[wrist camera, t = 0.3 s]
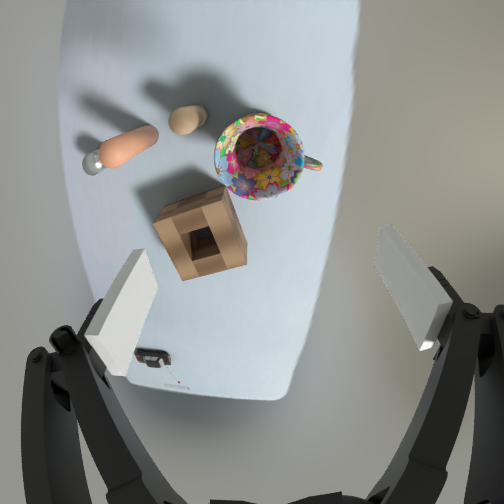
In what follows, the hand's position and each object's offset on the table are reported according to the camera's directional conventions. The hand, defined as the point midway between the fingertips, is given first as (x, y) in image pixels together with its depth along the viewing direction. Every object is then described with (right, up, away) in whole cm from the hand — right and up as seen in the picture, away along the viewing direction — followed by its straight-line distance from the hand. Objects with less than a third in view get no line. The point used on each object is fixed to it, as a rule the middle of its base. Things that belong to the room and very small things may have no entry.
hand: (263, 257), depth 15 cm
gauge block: (-8, +4, +28) cm, 29 cm away
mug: (+1, +15, +22) cm, 27 cm away
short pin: (-22, +15, +22) cm, 35 cm away
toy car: (-22, -23, +45) cm, 55 cm away
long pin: (-15, +17, +21) cm, 31 cm away
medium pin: (-8, +19, +19) cm, 28 cm away
